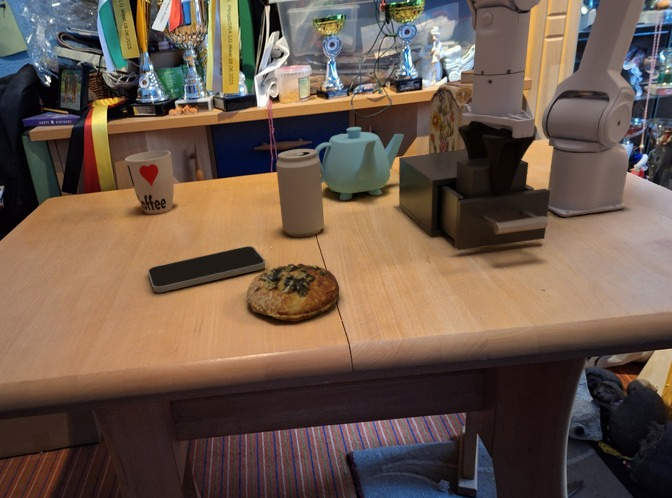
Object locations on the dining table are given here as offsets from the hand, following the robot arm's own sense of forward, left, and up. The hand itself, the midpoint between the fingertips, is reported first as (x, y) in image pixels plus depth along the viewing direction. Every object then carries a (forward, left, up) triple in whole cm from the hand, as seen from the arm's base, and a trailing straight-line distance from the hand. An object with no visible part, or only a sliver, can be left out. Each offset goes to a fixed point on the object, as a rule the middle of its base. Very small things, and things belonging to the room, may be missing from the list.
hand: (490, 184), depth 72 cm
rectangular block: (0, 0, -1) cm, 1 cm away
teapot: (+10, -30, -8) cm, 33 cm away
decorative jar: (-12, -33, -8) cm, 36 cm away
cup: (+47, -35, -8) cm, 59 cm away
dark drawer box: (0, 0, -7) cm, 7 cm away
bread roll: (+28, +10, -8) cm, 31 cm away
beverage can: (+23, -13, -8) cm, 28 cm away
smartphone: (+38, -2, -8) cm, 39 cm away
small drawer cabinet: (0, -11, -8) cm, 13 cm away
